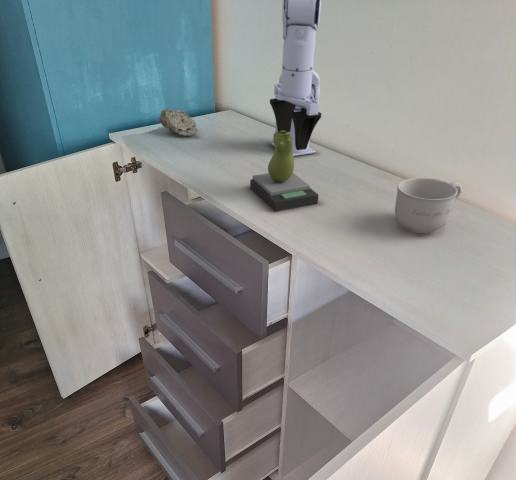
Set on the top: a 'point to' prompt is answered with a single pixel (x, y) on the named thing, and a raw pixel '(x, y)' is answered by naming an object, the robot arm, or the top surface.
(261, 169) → the top surface
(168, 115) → the rock sample
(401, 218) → the teacup
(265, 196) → the scale
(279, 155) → the pear
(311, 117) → the robot arm
